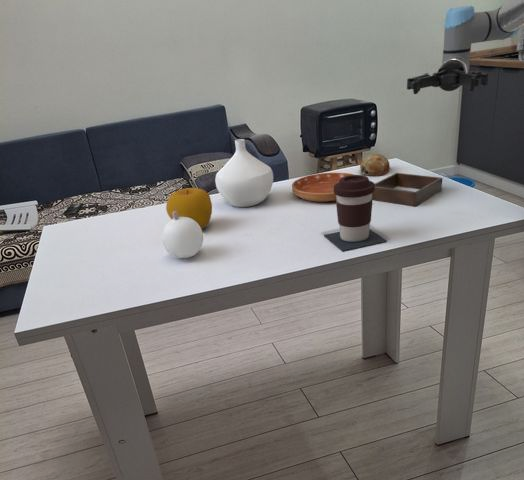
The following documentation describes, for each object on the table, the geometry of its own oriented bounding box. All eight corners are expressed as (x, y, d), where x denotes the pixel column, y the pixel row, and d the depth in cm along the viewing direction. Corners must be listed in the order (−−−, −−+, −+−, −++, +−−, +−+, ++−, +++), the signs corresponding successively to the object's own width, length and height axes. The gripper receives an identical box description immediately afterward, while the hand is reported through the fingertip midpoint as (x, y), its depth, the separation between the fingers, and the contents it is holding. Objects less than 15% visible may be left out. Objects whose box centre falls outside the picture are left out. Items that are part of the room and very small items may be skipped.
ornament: (158, 259, 140) (148, 215, 133) (187, 246, 146) (178, 202, 139) (185, 267, 134) (176, 221, 127) (213, 252, 140) (206, 207, 133)
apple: (212, 235, 151) (205, 194, 145) (167, 238, 152) (159, 198, 146) (218, 219, 162) (212, 181, 156) (176, 222, 163) (168, 185, 157)
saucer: (340, 178, 184) (340, 167, 182) (378, 194, 166) (379, 182, 164) (280, 192, 178) (279, 181, 176) (313, 210, 159) (313, 198, 157)
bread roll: (357, 183, 190) (351, 164, 184) (374, 163, 192) (368, 145, 187) (380, 187, 183) (374, 168, 178) (397, 167, 186) (392, 147, 180)
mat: (365, 227, 144) (365, 225, 144) (386, 242, 134) (387, 240, 134) (324, 236, 142) (324, 234, 141) (342, 251, 132) (342, 250, 132)
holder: (441, 191, 162) (442, 177, 160) (415, 206, 153) (416, 192, 151) (395, 185, 172) (396, 172, 170) (369, 199, 163) (369, 186, 161)
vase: (231, 193, 183) (223, 134, 173) (282, 193, 177) (277, 132, 166) (209, 211, 169) (199, 148, 158) (264, 212, 163) (257, 146, 152)
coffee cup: (352, 248, 132) (351, 187, 124) (327, 237, 139) (325, 179, 131) (382, 237, 136) (383, 177, 128) (356, 227, 143) (356, 170, 135)
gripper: (498, 86, 148) (495, 100, 131) (405, 91, 157) (392, 105, 141) (502, 55, 144) (499, 66, 127) (406, 62, 153) (393, 73, 136)
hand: (443, 86), depth 134 cm, fingers open, 13 cm apart
